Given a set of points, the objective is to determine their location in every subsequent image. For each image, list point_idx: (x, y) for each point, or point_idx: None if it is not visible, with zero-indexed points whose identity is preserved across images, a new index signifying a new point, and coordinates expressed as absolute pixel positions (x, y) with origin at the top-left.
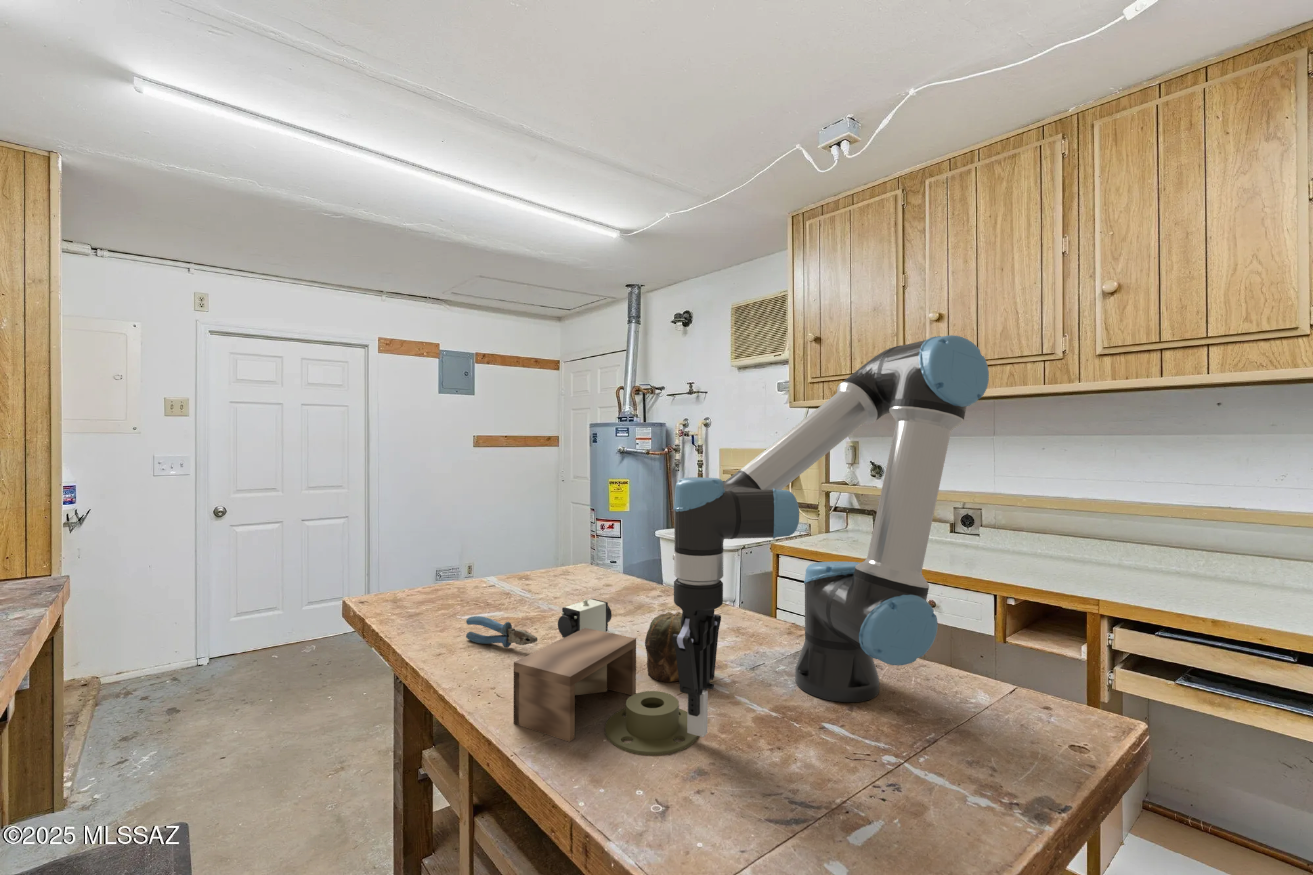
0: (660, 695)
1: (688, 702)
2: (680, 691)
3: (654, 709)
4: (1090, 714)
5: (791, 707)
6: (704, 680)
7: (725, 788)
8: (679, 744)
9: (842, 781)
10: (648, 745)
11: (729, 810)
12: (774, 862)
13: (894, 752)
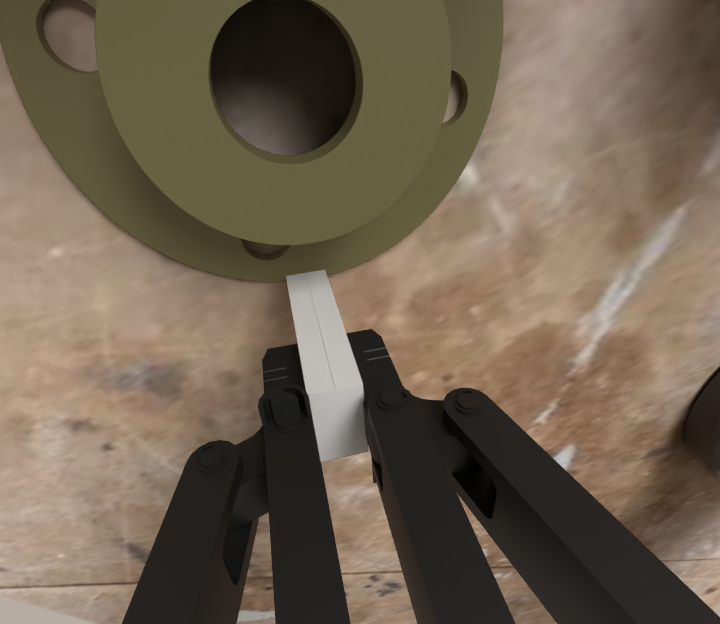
0: (400, 71)
1: (264, 391)
2: (193, 452)
3: (226, 153)
4: None
5: (634, 369)
6: (379, 480)
7: (154, 454)
8: (232, 262)
9: (356, 552)
10: (127, 167)
11: (86, 499)
12: (32, 601)
13: (500, 552)
